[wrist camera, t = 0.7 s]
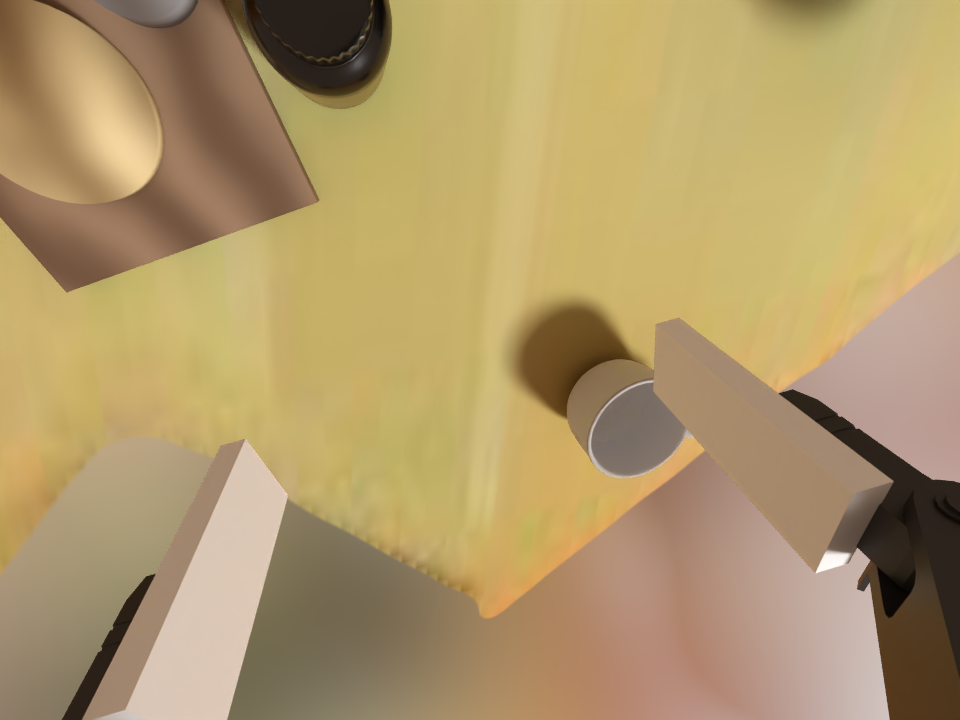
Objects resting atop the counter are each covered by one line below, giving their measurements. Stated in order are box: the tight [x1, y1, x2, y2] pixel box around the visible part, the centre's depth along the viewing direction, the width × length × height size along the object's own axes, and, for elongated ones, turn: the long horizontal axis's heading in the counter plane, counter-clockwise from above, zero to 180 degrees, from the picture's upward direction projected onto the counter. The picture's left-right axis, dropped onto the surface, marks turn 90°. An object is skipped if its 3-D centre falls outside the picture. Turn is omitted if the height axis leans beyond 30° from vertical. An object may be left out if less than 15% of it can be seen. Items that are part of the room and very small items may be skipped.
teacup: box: [567, 359, 694, 478], centre depth 42 cm, size 14×11×8 cm
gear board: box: [0, 0, 319, 292], centre depth 23 cm, size 18×18×6 cm
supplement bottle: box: [242, 0, 392, 109], centre depth 21 cm, size 7×7×12 cm
